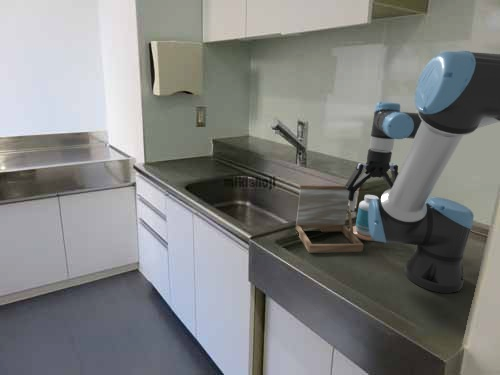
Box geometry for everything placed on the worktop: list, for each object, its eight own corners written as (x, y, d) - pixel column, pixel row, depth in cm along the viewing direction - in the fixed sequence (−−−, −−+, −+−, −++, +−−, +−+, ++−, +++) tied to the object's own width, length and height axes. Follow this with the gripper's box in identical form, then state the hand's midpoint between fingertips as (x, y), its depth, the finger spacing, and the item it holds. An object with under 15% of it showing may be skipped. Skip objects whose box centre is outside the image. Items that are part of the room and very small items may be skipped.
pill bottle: (377, 238, 127) (384, 201, 123) (355, 235, 128) (361, 199, 124) (374, 229, 134) (381, 194, 130) (354, 226, 135) (359, 192, 131)
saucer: (386, 240, 127) (386, 239, 127) (356, 240, 125) (357, 239, 125) (371, 227, 137) (372, 225, 137) (344, 227, 135) (344, 225, 135)
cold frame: (365, 252, 118) (375, 202, 113) (308, 253, 115) (315, 202, 109) (346, 230, 133) (353, 185, 128) (294, 230, 130) (299, 185, 124)
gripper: (408, 148, 127) (396, 206, 133) (340, 146, 123) (332, 205, 129) (421, 153, 120) (408, 213, 126) (349, 150, 116) (340, 213, 122)
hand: (369, 209), depth 128 cm, fingers open, 13 cm apart
